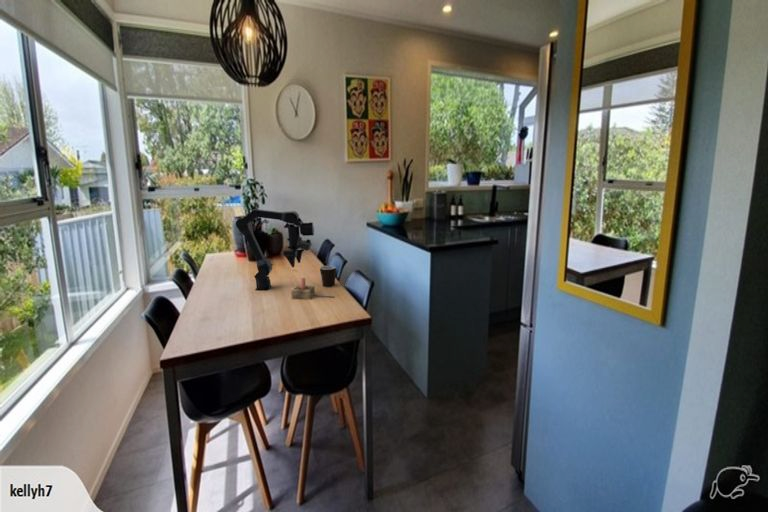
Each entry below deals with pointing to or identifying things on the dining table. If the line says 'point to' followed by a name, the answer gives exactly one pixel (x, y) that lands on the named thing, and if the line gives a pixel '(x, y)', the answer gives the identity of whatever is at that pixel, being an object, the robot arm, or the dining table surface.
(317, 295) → the blue gray square bar
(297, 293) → the brown square holed block
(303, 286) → the reddish pink rod
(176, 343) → the dining table surface
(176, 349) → the dining table surface
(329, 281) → the coffee mug
